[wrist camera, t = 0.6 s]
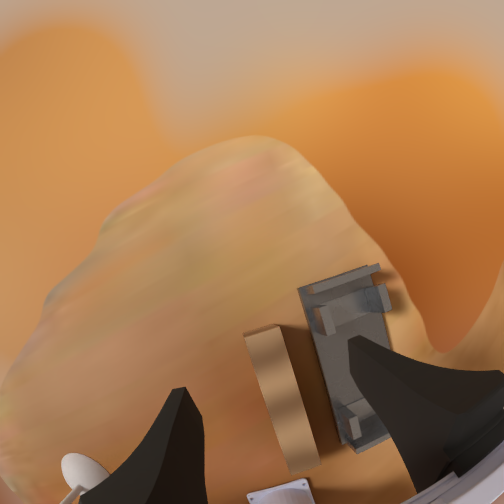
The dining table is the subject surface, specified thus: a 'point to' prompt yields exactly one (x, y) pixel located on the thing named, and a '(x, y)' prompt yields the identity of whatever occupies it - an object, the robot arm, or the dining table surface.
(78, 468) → the lamp
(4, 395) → the dining table surface
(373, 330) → the bracket board
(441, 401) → the robot arm
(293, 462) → the rail
